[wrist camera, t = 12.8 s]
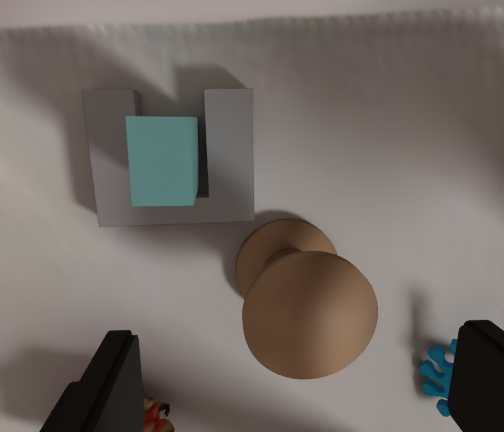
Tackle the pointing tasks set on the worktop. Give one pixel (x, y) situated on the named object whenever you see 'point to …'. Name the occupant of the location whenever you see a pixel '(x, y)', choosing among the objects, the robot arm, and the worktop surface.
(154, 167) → the teal tab
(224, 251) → the worktop surface
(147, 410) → the dragon fruit
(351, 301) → the door knob
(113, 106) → the notched board
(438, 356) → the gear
